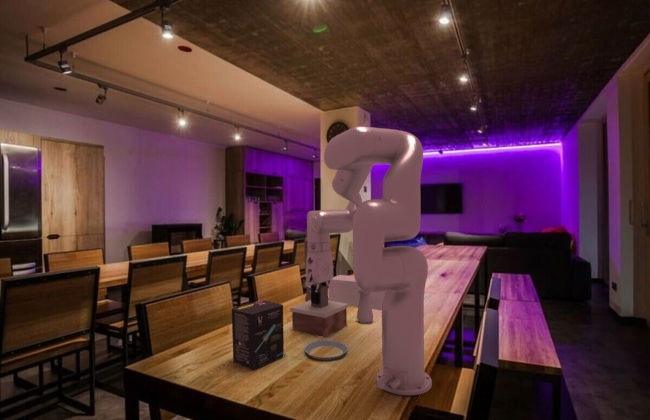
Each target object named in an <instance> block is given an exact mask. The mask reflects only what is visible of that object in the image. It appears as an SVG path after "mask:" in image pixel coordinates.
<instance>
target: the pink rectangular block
mask: <svg viewBox="0 0 650 420" xmlns="http://www.w3.org/2000/svg"><path fill="white" fill-rule="evenodd" d="M359 288H360V287H359V286H358V285H357V283H356V280H355V277H354V275H347V274H345V275H344V274H339V275H336V276H333V278H332V279H331V281H330V283H329V288H328V301H334V302H340V303H346V304H348V307H351V308H352V307H354V308H358V306H359V299H360V293H359ZM386 291H387V290H386ZM386 291H379V292H371V293H370V294H369V297H370V303H371V308H372V310H376V311H382V303H383V299H384V296H385V294H386Z"/></svg>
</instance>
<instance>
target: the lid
mask: <svg viewBox="0 0 650 420" xmlns="http://www.w3.org/2000/svg"><path fill="white" fill-rule="evenodd" d="M318 292H320V304H313V303H311V300H310V301H307V302H305V301H304V302H301V303H299V304H297V305H294V306H291V307H289V312H297V313H302V314H307V315H312V316H317V317H322V318H326V317H328V316H331V315H333V314H335V313H337V312H339V311H342V310H344V309H346V310H347V309H348V308H349V306H348V304H346V303H340V302H334V301H329V288H328V286H325V285H319V289H318Z"/></svg>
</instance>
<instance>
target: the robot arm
mask: <svg viewBox="0 0 650 420" xmlns="http://www.w3.org/2000/svg"><path fill="white" fill-rule="evenodd" d="M423 161H424V148H423V146H422V143H421V141H420V140H419V138H418V137H417V136H415V135H414V134H412V133H410V132H408V131H405V130H398V129H393V128H392V129H391V128H381V127H371V126H354V127H351V128H350V129H349V128H348V129H347V130H345V131H343V132H341V133H339V134H337V135H336V136H334V137H333V138H331V139H330V140H329V142H328V143H326V146H325V149H324V152H323V162H324V164H325V166H326V168H328V169H330V170H332V171H333V170H334V171H335V170H336V172H335V175H334V176H333V179H332V181H331V187H332V190H333V191H334V192H335V193H336V194H337V195H338V196H340V197H341V198H343V199H345V200H347V201H349V202H348V204H347V206H346V207H345V208H344V209H321V210H320V209H319V210H310V211H308V212H307V215H306V224H307V225H306V230H307V242H308V253H307V260H306V270H305V280H306V281H305V283H304V284H305V286H307V287H308V288H309V289H310V292H311V303H313V304H320V292H318V289H319V283H320V285H325V286H328V289H329V283H330V281H331V279H332V278H333V277H334V264H333V254H332V251H331V234H345V233H346V234H347V233H350V232H351V231H352V264H353V265H352V267H353V269H352V270H353V276H354V277H355V280H356V283H357V285H358V286H359V287H360V288H361V289H362V290H363V291H366V292H379V291H386V290H387V291H386V294H385V296H384V299H383V303H382V310H381V345H382V346H381V347H382V348H381V350H382V355H381V356H382V368H381V369H380V370H378V371H377V373H376V374H375V382H376V386H377V388H378V389H379V390H384V391H386V392H389V393H391V394H395V395H400V396H418V395H423V394H424V393H425V394H426V393H427V392H428V391H430V389H432V385H433V384H432V383H433V380H432V378H431V376H430V375H429V374H428V373H427V372H425V323H424V321H425V319H424V317H425V314H424V313H425V306H424V305H425V291H426V290H425V289H426V283H427V278H428V270H429V268H428V266H429V265H428V260H427V258H426V256H425V254H424V253H423V251H421V250H420V249H419V248H416V247H414V246H408V245H398V246H395V245H394V246H387V247H384V245H385V244H384V243H386V242H396V241H407V240H411V239H414V238H415V237H417V236H418V234H419V233H420V230H421V220H422V219H421V217H422V216H421V212H422V211H421V206H422V205H421V204H422V203H421V201H422V200H421V199H422V198H421V176H422V175H421V174H422V169H423V163H424V162H423ZM374 165H390V166H389V167H388V169H387V171H386V173H385V174H384V177H383V181H382V198H380V199H375V198H374V199H368V200H364V201H363V200H362V199H363V198H362V197H361V194H360V191H361V190H362V188H363V186H364V184H365V183H366V180H367V179H368V176H369V174H370V173H371V171H372V168H373V166H374ZM313 281H314V282H313ZM314 284H316V285H315V286H314ZM307 287H306V288H307Z"/></svg>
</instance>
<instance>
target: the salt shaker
mask: <svg viewBox="0 0 650 420" xmlns="http://www.w3.org/2000/svg"><path fill="white" fill-rule="evenodd" d="M359 293H360V299H359V306H358V307H357V313H356V320H357V321H358V323H361V324H371V323H372V322H373V320H374V313H373V309H372V308H371V303H370V297H369V294H370V293H371V292H366V291H363V290H362V289H361V288H359Z"/></svg>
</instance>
